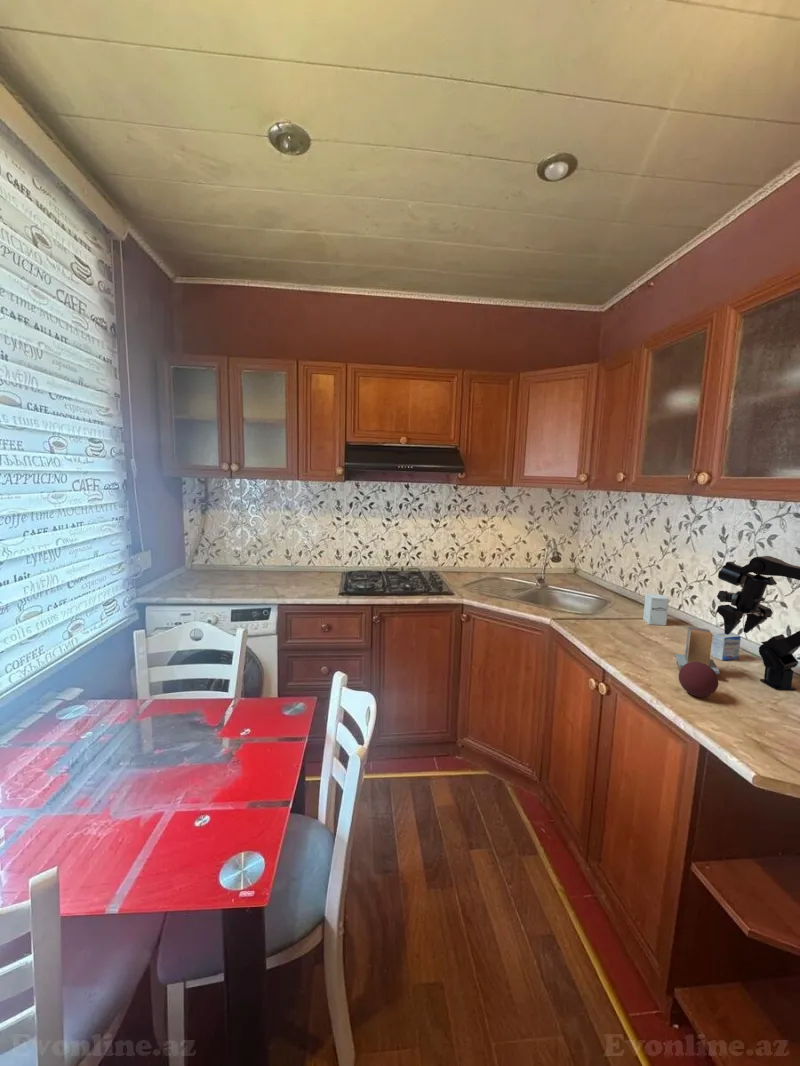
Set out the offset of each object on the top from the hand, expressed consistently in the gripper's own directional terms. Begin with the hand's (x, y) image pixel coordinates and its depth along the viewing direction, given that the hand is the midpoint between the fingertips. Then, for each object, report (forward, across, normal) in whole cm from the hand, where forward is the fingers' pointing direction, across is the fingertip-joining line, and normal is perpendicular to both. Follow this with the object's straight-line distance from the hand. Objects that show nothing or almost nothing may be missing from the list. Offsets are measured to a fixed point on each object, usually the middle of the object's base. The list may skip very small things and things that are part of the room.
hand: (735, 633), depth 152 cm
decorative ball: (+11, +29, +13) cm, 34 cm away
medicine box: (+14, -8, -5) cm, 17 cm away
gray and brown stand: (+13, +14, 0) cm, 19 cm away
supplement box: (+22, -17, -42) cm, 51 cm away
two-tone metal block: (+10, +14, 0) cm, 17 cm away
